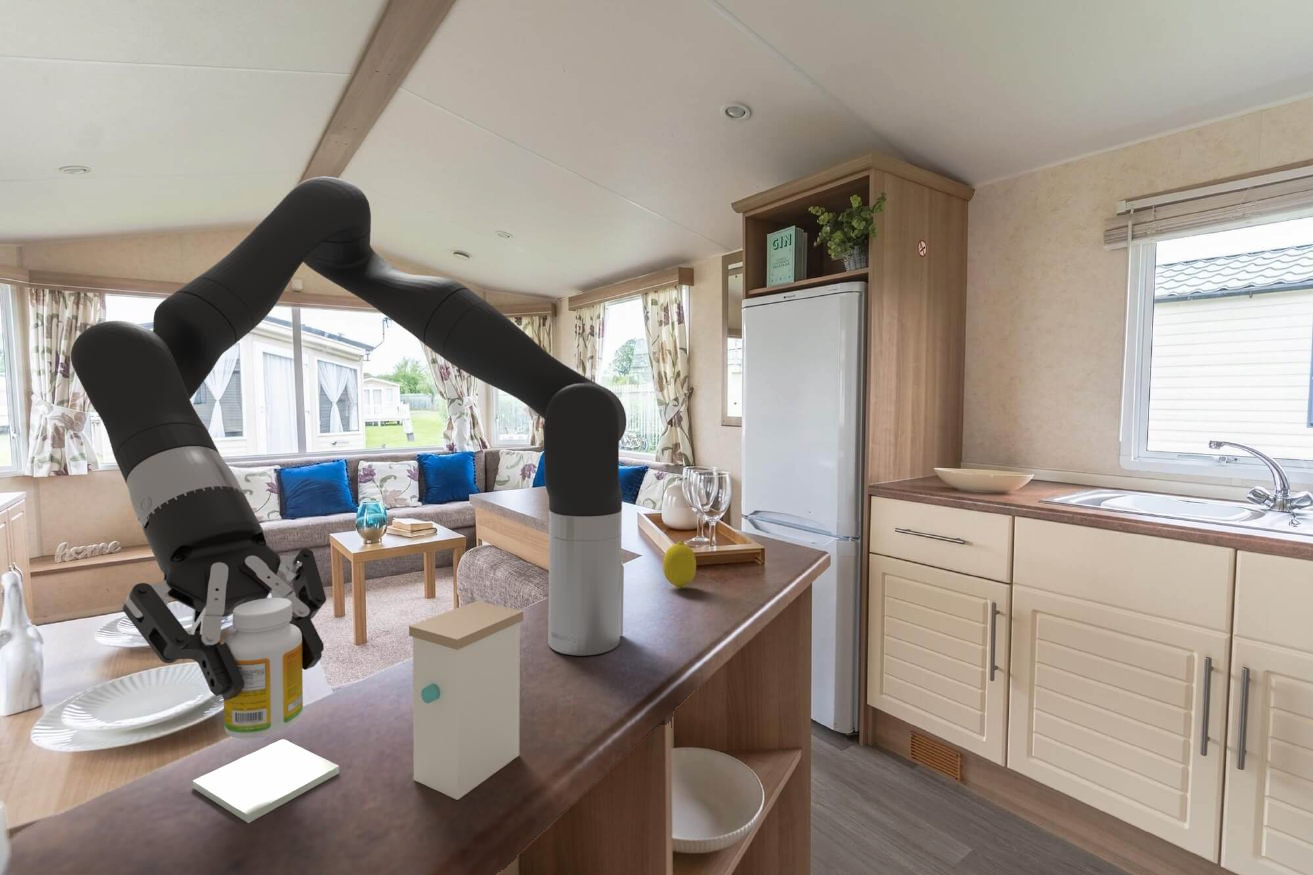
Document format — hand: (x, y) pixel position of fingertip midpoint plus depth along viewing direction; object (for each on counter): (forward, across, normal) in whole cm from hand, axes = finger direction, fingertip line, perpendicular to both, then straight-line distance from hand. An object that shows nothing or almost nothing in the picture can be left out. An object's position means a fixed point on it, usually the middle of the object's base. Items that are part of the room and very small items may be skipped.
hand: (275, 677), depth 48 cm
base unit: (+14, -9, +2) cm, 17 cm away
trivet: (+5, 0, -7) cm, 9 cm away
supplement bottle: (+2, 0, -4) cm, 5 cm away
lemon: (+10, -63, -4) cm, 64 cm away
